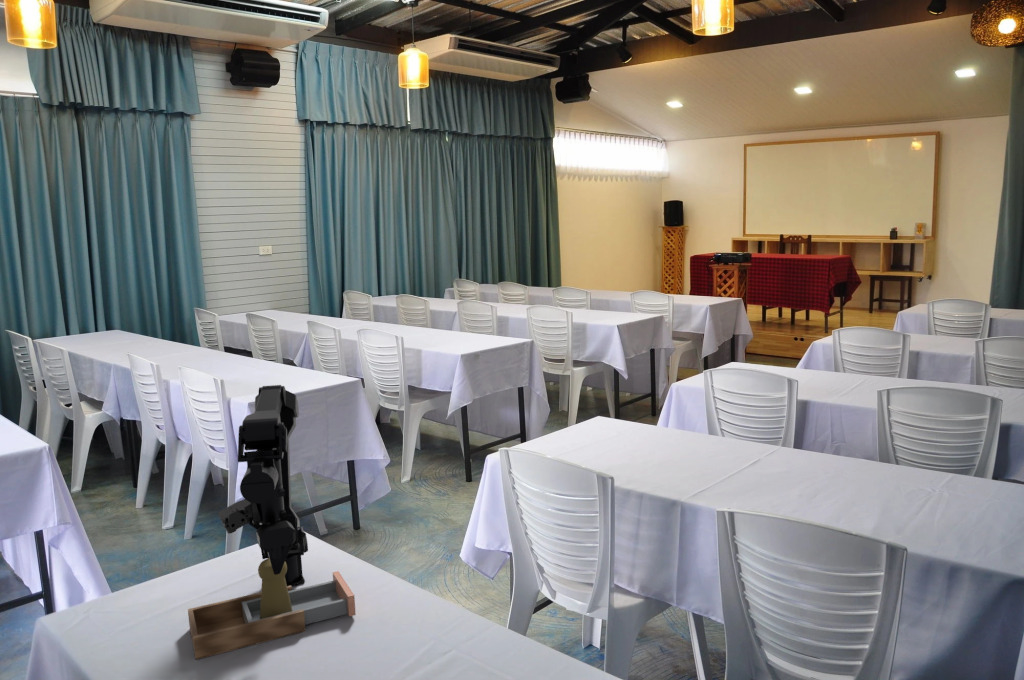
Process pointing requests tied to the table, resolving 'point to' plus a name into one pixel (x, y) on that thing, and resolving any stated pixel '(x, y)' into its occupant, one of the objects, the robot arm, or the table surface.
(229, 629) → the brown wooden box
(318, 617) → the tray
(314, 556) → the table surface
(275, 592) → the olive pawn figure
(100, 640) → the table surface
